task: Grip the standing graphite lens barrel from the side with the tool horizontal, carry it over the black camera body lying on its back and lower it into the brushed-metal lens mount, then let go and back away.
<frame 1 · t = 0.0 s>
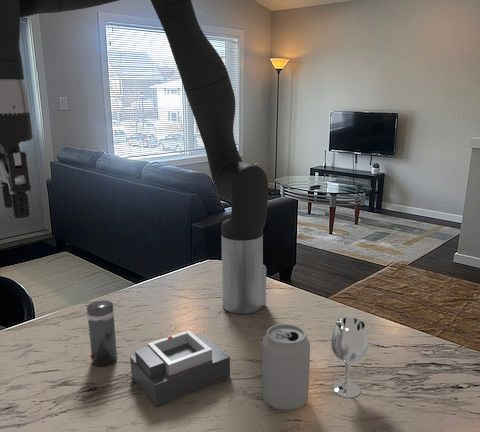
hand: (16, 211, 78), 29 cm above the kitchen island, tool pointing down, fingers open, 8 cm apart
can: (284, 399, 77), on the kitchen island
wineglass: (346, 390, 79), on the kitchen island
camera body: (180, 377, 83), on the kitchen island
lens: (104, 360, 88), on the kitchen island
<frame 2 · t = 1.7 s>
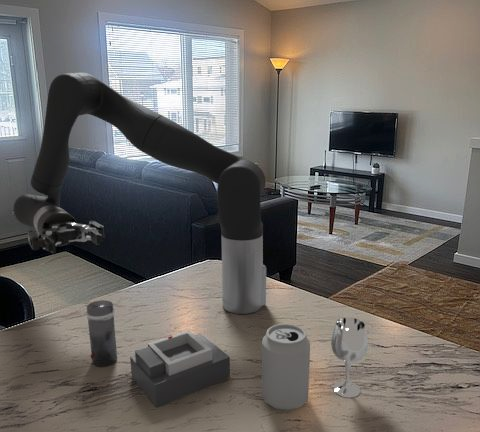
hand: (76, 244, 92), 20 cm above the kitchen island, tool horizontal, fingers open, 8 cm apart
nothing on the kitchen island moved.
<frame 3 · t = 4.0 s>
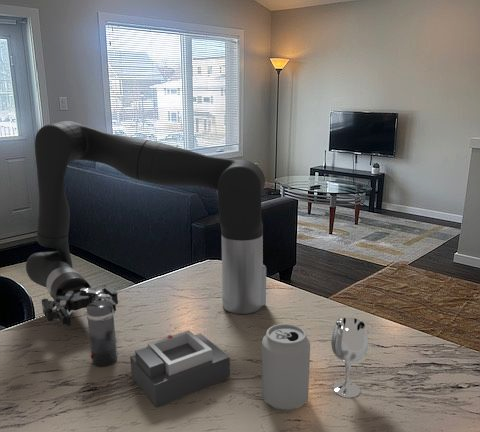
hand: (91, 315, 91), 6 cm above the kitchen island, tool horizontal, fingers open, 8 cm apart
nothing on the kitchen island moved.
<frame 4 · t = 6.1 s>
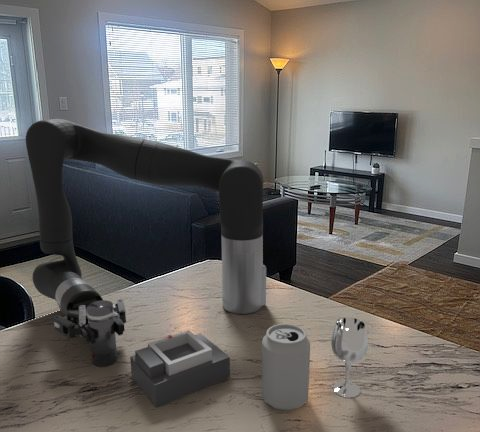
hand: (107, 334, 84), 7 cm above the kitchen island, tool horizontal, fingers closed on lens, 4 cm apart
lens: (104, 359, 88), on the kitchen island, touching gripper
everything else where it was.
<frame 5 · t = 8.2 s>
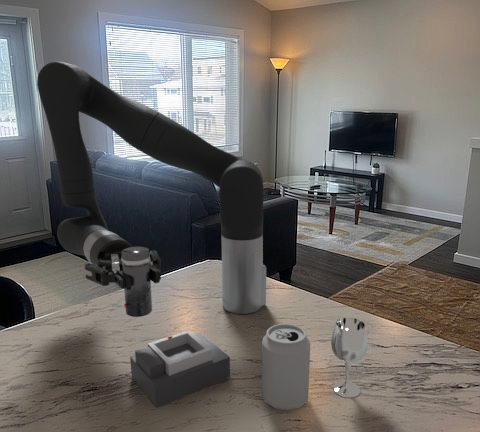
hand: (143, 280, 79), 18 cm above the kitchen island, tool horizontal, fingers closed on lens, 4 cm apart
lens: (139, 310, 82), point 11 cm above the kitchen island, touching gripper
everything else where it was.
when the fingers open (11 cm above the kitchen island, at t = 10.6 s): lens stays where it is, resting on camera body.
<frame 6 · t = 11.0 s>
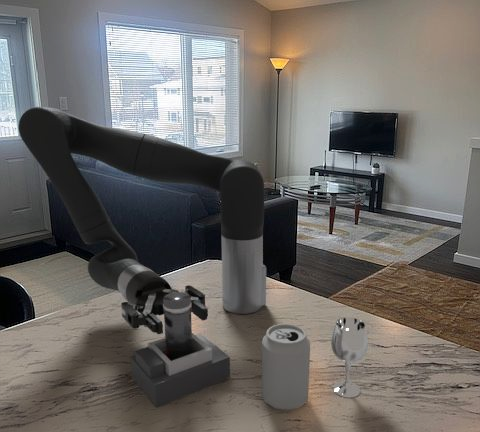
hand: (183, 321, 78), 12 cm above the kitchen island, tool horizontal, fingers open, 8 cm apart
lens: (179, 356, 82), point 4 cm above the kitchen island, touching camera body
everything else where it was.
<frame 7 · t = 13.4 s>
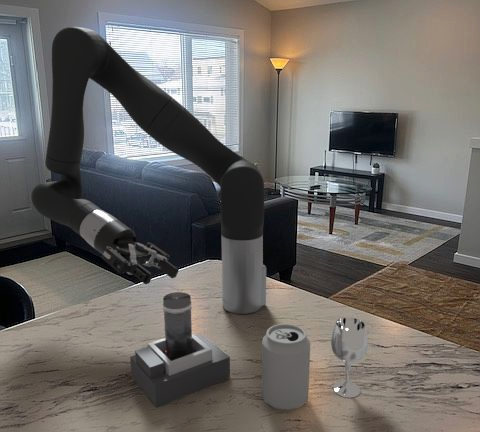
hand: (163, 277, 92), 13 cm above the kitchen island, tool tilted 70°, fingers open, 8 cm apart
nothing on the kitchen island moved.
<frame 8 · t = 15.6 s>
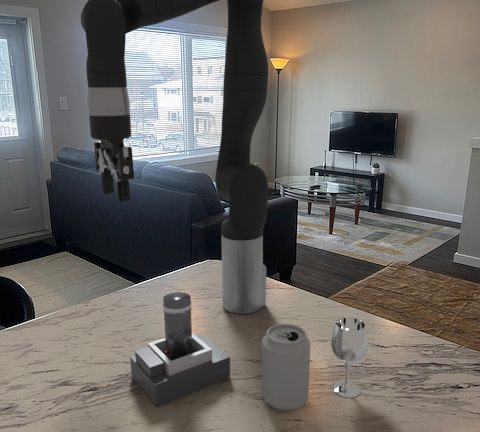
hand: (115, 197, 93), 28 cm above the kitchen island, tool pointing down, fingers open, 8 cm apart
nothing on the kitchen island moved.
at the end: lens 0.1 cm off-centre on the camera body, point 4.0 cm above the camera body's base; lens tilted 0°; the gripper is holding nothing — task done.
